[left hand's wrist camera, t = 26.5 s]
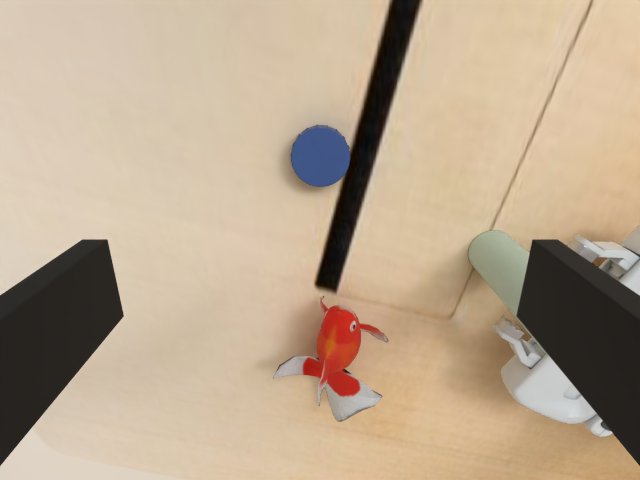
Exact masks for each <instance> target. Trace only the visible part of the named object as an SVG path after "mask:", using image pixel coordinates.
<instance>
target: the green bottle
mask: <svg viewBox="0 0 640 480" xmlns="http://www.w3.org/2000/svg"><path fill="white" fill-rule="evenodd" d="M529 254H530V253H529V252H528V251H527V250H525V249H524V248H523V247H522V246H521V245H519V244H518V243H517V242H516V241H515V240H513V239H512V238H511V237H510V236H508V235H507V234H506V233H504V232H501V231H496V230H493V231H487V232H484V233H482V234H480V235H479V236H477V237H476V238H475V239H474V240H473V242H472V243H471V245H470V247H469V251H468V257H469V261H470V263H471V264H472V265H473V267H474V268H475V269H476V270H477V271H478V273H479V274H480V275H481V276H482V277H483V279H484V280H485V281H486V282H487V284H488V285H489V286H490V287H491V288H492V290H493V291H494V292H495V293H496V294H497V296H498V297H499V298H500V299H501V300H502V302H503V303H504V304H505V305H506V306H507V308H508V309H509V310H510V311H511V313H512V314H513V315H514V316H515V317H516V319H517V320H518V321H519V322H520V323H521V325H522V326H523V327H524V328H525V329H526V327H525V326H524V325H523V324H522V322H521V321H520V320H519V319H518V318H517V316H516V315H517V310H518V306H519V301H520V296H521V292H522V287H523V282H524V278H525V273H526V268H527V264H528V259H529ZM526 331H527V332H528V333H529V334H530V336H531V337H532V338H533V339H534V340H535V342H536V343H537V344H538V345H539V346H540V348H541V349H542V350H543V351H544V352H545V350H544V349H543V348H542V347H541V345H540V344H539V343H538V342H537V341H536V339H535V338H534V337H533V336H532V335H531V333H530V332H529V331H528V330H527V329H526ZM545 353H546V352H545ZM546 354H547V353H546Z"/></svg>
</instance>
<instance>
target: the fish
mask: <svg viewBox="0 0 640 480" xmlns="http://www.w3.org/2000/svg"><path fill="white" fill-rule="evenodd" d="M322 298H324V296H322V297H320V305H321V309H322V312H323V314H324V316H323V323H322V326H321V327H322V328H321V331H320V333H319V335H318V340H317V353H318V357H319V358H316V357H311V356H297V357H292V358H290V359H289V360H287V361H286V362H284V363H283V364H281V365H279V367H278V369H277V371H276V373H275V375H274V377H273V379H274V378H276V377H281V376H286V375H311V376H316V377H318V378H319V379H320V382H319V384H318V393H317V395H318V403H319V406H320V396H321V392H322V390H323V389H324V388H326V391H327V395H328V400H329V403H330V407H331V410H332V413H333V415H334V417H335V419H336V420H337V421H340V422H341V421H344V420H346V419H347V418H349V417H351V416H353V415H354V414H356V413H358V412H360V411H362V410H365V409H367V408H370V407H373V406H375V404H376V403H377V402H378V401H379V400H380V399H381V398H382V395H380V394H378V393H377V392H375V391H373V390H372V389H371V388H369V387H368V386H367V385H366V384H364V383H363V382H361V381H360V380H359V379H357V378H356V377H355V376H353V375H352V374H351V373H349V372H348V371H347V370H345V369H344V368H346V367H348V366H349V365H350V363H351V362H352V361H353V360H354V358H355V357H356V355H357V353H358V350H359V347H360V343H361V331H366V332H369V333H371V334H372V335H373V336H374V337H376V338H378V339H380V340H383V341H385V342H388V339H387V337H386V336H385V335H384V334H383V333H382V332H380V331H379V330H378V329H377V328H375V327H373V326H371V325H368V324H360V323H359V321H358V318H357V316H356V314H355V313H354V312H353V311H352V310H351V309H349V308H347V307H345V306H341V305H337V306H333V307H331V308H330V309H328V308H327V307H326V306H325V305H324V304H323V303H322V301H321V300H322Z"/></svg>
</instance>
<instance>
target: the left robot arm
mask: <svg viewBox="0 0 640 480" xmlns="http://www.w3.org/2000/svg"><path fill="white" fill-rule="evenodd" d="M123 316H124V315H123V310H122V306H121V301H120V296H119V292H118V287H117V282H116V278H115V273H114V268H113V264H112V259H111V254H110V250H109V245H108V240H81V241H80V242H78V243H77V244H75V245H74V246H72V247H71V248H69V249H68V250H67V251H65V252H64V253H62V254H61V255H59V256H58V257H56V258H55V259H53V260H52V261H50V262H49V263H47V264H46V265H44V266H43V267H41V268H40V269H39V270H37V271H36V272H34V273H33V274H31V275H30V276H28V277H27V278H25V279H24V280H22V281H21V282H19V283H18V284H16V285H15V286H14V287H12V288H11V289H9V290H8V291H6V292H5V293H3V294H2V295H0V465H1V464H2V463H3V462H4V461H5V459H6V458H7V457H8V456H9V454H10V453H11V452H12V451H13V450H14V448H15V447H16V446H17V445H18V444H19V442H20V441H21V440H22V439H23V438H24V436H25V435H26V434H27V433H28V431H29V430H30V429H31V428H32V427H33V425H34V424H35V423H36V422H37V421H38V419H39V418H40V417H41V416H42V415H43V413H44V412H45V411H46V410H47V408H48V407H49V406H50V405H51V404H52V402H53V401H54V400H55V399H56V398H57V396H58V395H59V394H60V393H61V392H62V390H63V389H64V388H65V387H66V385H67V384H68V383H69V382H70V381H71V379H72V378H73V377H74V376H75V375H76V373H77V372H78V371H79V370H80V368H81V367H82V366H83V365H84V364H85V362H86V361H87V360H88V359H89V358H90V356H91V355H92V354H93V353H94V352H95V350H96V349H97V348H98V347H99V345H100V344H101V343H102V342H103V341H104V339H105V338H106V337H107V336H108V335H109V333H110V332H111V331H112V330H113V329H114V327H115V326H116V325H117V324H118V322H119V321H120V320H121V319H122V318H123ZM516 316H517V318H518V319H519V320H520V321H521V322H522V324H523V325H524V326H525V327H526V329H527V330H528V331H529V332H530V333H531V335H532V336H533V337H534V338H535V339H536V341H537V342H538V343H539V344H540V345H541V347H542V348H543V349H544V350H545V352H546V353H547V354H548V355H549V356H550V358H551V359H552V360H553V361H554V362H555V364H556V365H557V366H558V367H559V368H560V370H561V371H562V372H563V373H564V375H565V376H566V377H567V378H568V379H569V381H570V382H571V383H572V384H573V385H574V387H575V388H576V389H577V390H578V392H579V393H580V394H581V395H582V396H583V398H584V399H585V400H586V401H587V402H588V404H589V405H590V406H591V407H592V408H593V410H594V411H595V412H596V413H597V415H598V416H599V417H600V418H601V419H602V421H603V422H604V423H605V424H606V425H607V427H608V428H609V429H610V430H611V431H612V433H613V434H614V435H615V436H616V438H617V439H618V440H619V441H620V442H621V444H622V445H623V446H624V447H625V448H626V450H627V451H628V452H629V453H630V455H631V456H632V457H633V458H634V459H635V461H636V462H637V463H638V464H639V465H640V295H638V294H637V293H635V292H634V291H632V290H631V289H629V288H628V287H626V286H625V285H624V284H622V283H621V282H619V281H618V280H616V279H615V278H613V277H612V276H610V275H609V274H607V273H606V272H604V271H603V270H601V269H600V268H599V267H597V266H596V265H594V264H593V263H591V262H590V261H588V260H587V259H585V258H584V257H582V256H581V255H579V254H578V253H576V252H575V251H573V250H572V249H571V248H569V247H568V246H566V245H565V244H563V243H562V242H560V241H559V240H532V245H531V250H530V254H529V259H528V264H527V268H526V273H525V278H524V282H523V287H522V292H521V296H520V301H519V306H518V310H517V315H516Z"/></svg>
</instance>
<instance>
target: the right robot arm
mask: <svg viewBox="0 0 640 480" xmlns="http://www.w3.org/2000/svg"><path fill="white" fill-rule="evenodd" d="M567 246H568V247H569V248H571V249H572V250H573V251H575V252H576V253H578V254H579V255H581V256H582V257H584V258H585V259H587V260H588V261H590V262H591V263H592V262H593V261H594V260H595V259H596V258H597V257H606V258H607V259H606V260H605V261H604V262H603V263H602V264H601V265H600V266H599V268H600V269H601V270H603V271H604V272H606V273H607V274H609V275H610V276H612V277H613V278H615V279H616V280H618V281H619V282H621V283H622V284H624V285H625V286H626V287H628V288H629V289H631V290H632V291H634V292H635V293H637V294H638V295H640V224H639V225H638V226H637V227H636V228H635V230H634V231H633V232H632V233H631V234H630V235H629V236H628V237H627V238H626V239H625V240H624V241H623V242H622V243H621V244H620V245H618V244H616V243H615V242H613V241H600V242H590V241H588V240H587V239H585V238H583V237H582V236H580V235H578V234H577V235H576V236H575V237H574V238H573V239H572V240H571V242H570V243H569V244H568V245H567ZM493 328H494V329H495V331H496V332H497V334H498V335H499V336H500V337H502V338H503V339H505V340H506V341H508V342H509V344H510V346H511V349H512V350H513V351H514V353H515V355H514V356H513V357H512V358H511V359H510V360H509V361H508V362H507V363H506V364H505V365H504V366H503V367H502V369H501V376H502V380H503V382H504V384H505V386H506V388H507V390H508V391H509V393H510V394H511V395H512V397H513V398H514V399H515V400H516V401H517V402H518V403H520V404H521V405H523V406H525V407H527V408H528V409H530V410H532V411H535V412H537V413H539V414H541V415H544V416H546V417H548V418H551V419H553V420H556V421H559V422H563V423H568V424H577V423H582V424H583V425H584V426H585V427H586V428H587V429H588V430H589V431H590V432H591V433H593V434H594V435H596V436H599V437H606V436H609V435H611V434H613V433H612V431H611V430H610V429H609V428H608V427H607V425H606V424H605V423H604V422H603V421H602V419H601V418H600V417H599V416H598V415H597V413H596V412H595V411H594V410H593V408H592V407H591V406H590V405H589V404H588V402H587V401H586V400H585V399H584V398H583V396H582V395H581V394H580V393H579V392H578V390H577V389H576V388H575V387H574V385H573V384H572V383H571V382H570V381H569V379H568V378H567V377H566V376H565V375H564V373H563V372H562V371H561V370H560V368H559V367H558V366H557V365H556V364H555V362H554V361H553V360H552V359H551V358H550V356H549V355H548V354H546V353H545V352H544V351H543V350H542V349H541V348H540V346H539V345H538V344H537V343H536V342H535V340H534V339H533V338H532V337H531V338H530V339H529V340H528V341H525V340H523V339H521V338H522V336H523V335H524V334H525V333H524V332H523V330H522V329H520V328H519V325H518V324H517V323H516V322H515V321H513V320H511V319H508V318H507V317H506V316H503V317H502V318H501V319H500V320H499V321H498V322H497V323H496V324H495V325H494V326H493Z"/></svg>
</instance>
